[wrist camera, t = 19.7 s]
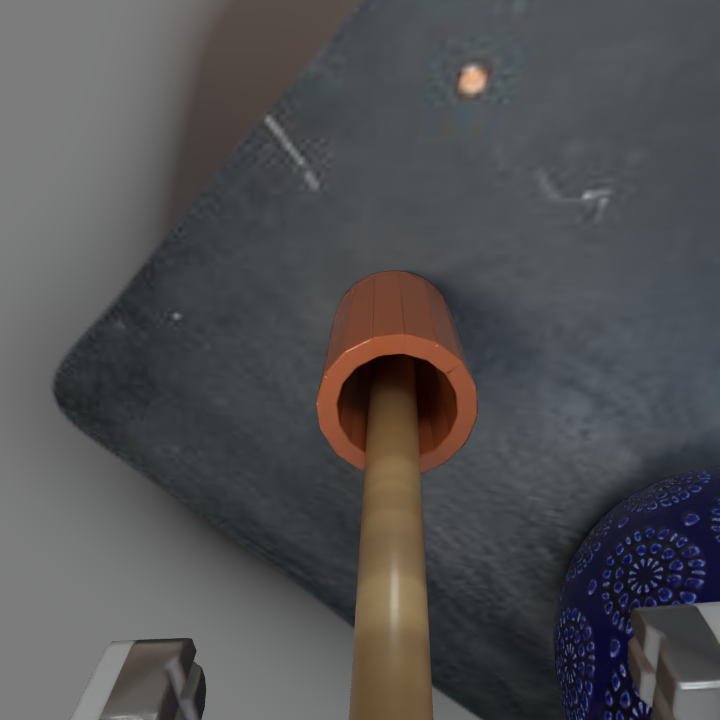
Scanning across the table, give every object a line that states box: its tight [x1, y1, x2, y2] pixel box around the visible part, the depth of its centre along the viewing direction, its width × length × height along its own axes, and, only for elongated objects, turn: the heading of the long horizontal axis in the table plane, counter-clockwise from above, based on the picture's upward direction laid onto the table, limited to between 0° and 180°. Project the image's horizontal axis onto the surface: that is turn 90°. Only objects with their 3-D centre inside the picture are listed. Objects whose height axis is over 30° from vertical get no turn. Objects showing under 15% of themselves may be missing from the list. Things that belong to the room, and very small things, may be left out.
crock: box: [316, 271, 478, 474], centre depth 24 cm, size 5×5×8 cm
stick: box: [349, 354, 433, 720], centre depth 19 cm, size 2×2×19 cm
